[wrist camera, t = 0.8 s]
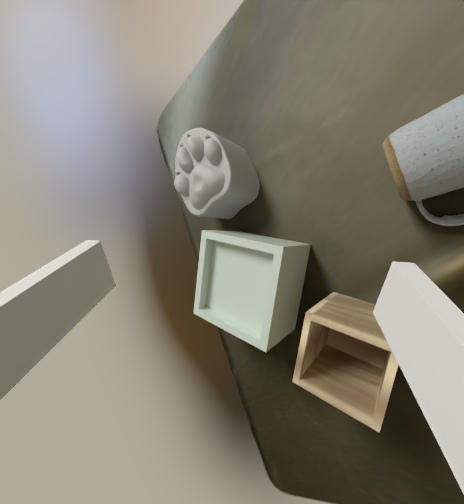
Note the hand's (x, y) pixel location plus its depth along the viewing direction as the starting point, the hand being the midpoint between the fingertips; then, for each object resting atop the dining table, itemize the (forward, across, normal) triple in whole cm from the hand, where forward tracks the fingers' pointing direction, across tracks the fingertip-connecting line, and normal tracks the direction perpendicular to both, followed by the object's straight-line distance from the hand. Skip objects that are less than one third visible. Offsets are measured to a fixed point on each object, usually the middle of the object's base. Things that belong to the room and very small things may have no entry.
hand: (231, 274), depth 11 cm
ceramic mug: (+18, +18, +2) cm, 26 cm away
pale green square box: (+21, +1, -15) cm, 25 cm away
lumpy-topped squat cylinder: (+31, -6, -2) cm, 32 cm away
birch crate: (+13, +13, -16) cm, 25 cm away
